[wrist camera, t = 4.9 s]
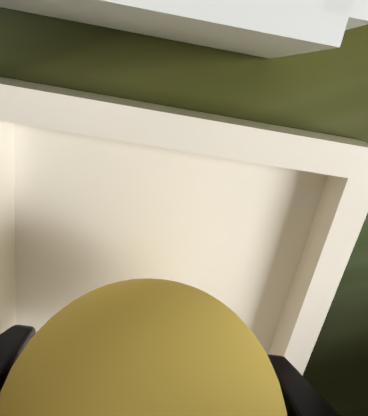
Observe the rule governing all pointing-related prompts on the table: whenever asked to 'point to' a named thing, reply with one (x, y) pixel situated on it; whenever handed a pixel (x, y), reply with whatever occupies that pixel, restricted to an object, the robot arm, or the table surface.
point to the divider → (218, 21)
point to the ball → (143, 358)
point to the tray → (174, 209)
